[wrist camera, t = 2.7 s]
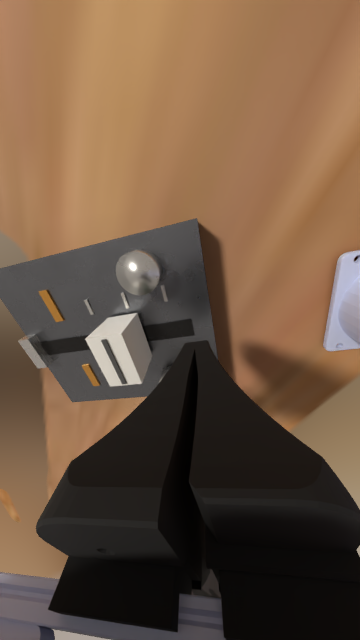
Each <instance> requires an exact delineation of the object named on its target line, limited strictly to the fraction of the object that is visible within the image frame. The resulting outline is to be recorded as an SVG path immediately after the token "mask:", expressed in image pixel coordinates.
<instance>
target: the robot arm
mask: <svg viewBox="0 0 360 640" xmlns="http://www.w3.org/2000/svg"><path fill="white" fill-rule="evenodd" d="M356 256H358V259H357V260H356V261H355V262H354V258H355V257H356ZM337 344H338V345H337ZM336 345H337V346H336ZM323 347H324V348H325V349H326V350H327V351H338V350H347V349H357V348H360V250H357V251H351V252H347V253H344V254H342V255H341V256H340V257H339V259H338V261H337V267H336V273H335V278H334V284H333V290H332V296H331V302H330V308H329V314H328V320H327V325H326V331H325V337H324V343H323ZM36 531H37V534H38V535H39V537H41V538H42V539H43V540H44V541H46V542H47V543H49V544H50V545H52V546H54V547H55V548H57V549H58V550H60V551H61V552H63V553H65V554H66V555H68V556H69V557H68V559H67V562H66V565H65V567H64V570H63V572H62V575H61V577H60V579H53V578H45V577H36V576H27V575H20V574H11V573H2V572H0V640H55V636H54V631H53V630H52V629H55V630H61V631H66V632H72V633H78V634H84V635H89V636H95V637H100V638H106V639H111V640H360V557H359V555H358V553H357V551H356V550H357V548H358V547H359V545H360V510H359V508H358V506H357V504H356V503H355V501H354V500H353V498H352V497H351V495H350V494H349V492H348V491H347V489H346V488H345V487H344V485H343V484H342V482H341V481H340V480H339V478H338V477H337V475H336V474H335V473H334V472H333V470H332V469H331V468H330V466H329V465H328V464H327V462H325V460H324V459H323V457H321V456H320V455H319V454H317V453H316V452H315V451H313V450H312V449H311V448H309V447H308V446H307V445H305V444H304V443H302V442H301V441H300V440H299V439H297V438H296V437H295V436H293V435H292V434H291V433H290V432H288V431H287V430H286V429H285V428H283V427H282V426H281V425H280V424H278V423H277V422H276V421H275V420H274V419H272V418H271V417H270V416H269V415H268V414H267V413H266V412H264V411H263V410H262V409H261V408H260V407H259V406H258V405H257V404H256V403H255V402H253V401H252V400H251V399H250V398H249V397H248V396H247V395H246V394H245V393H244V392H243V391H242V390H241V389H240V387H239V386H238V385H237V384H236V383H235V382H234V381H233V380H232V378H231V377H230V376H229V375H228V374H227V372H226V371H225V370H224V368H223V367H222V366H221V364H220V363H219V361H218V360H217V358H216V356H215V355H214V353H213V351H212V349H211V347H210V344H209V341H207V340H204V341H196V342H189V343H185V344H184V345H183V347H182V349H181V351H180V352H179V354H178V356H177V358H176V359H175V361H174V362H173V364H172V366H171V367H170V369H169V370H168V371H167V373H166V374H165V376H164V377H163V378H162V380H161V381H160V382H159V384H158V385H157V386H156V387H155V389H154V390H153V391H152V392H151V393H150V394H149V396H148V397H147V398H146V399H145V400H144V401H143V402H142V403H141V404H140V405H139V406H138V407H137V408H136V409H135V410H134V411H133V412H132V413H131V414H130V415H129V416H128V417H126V418H125V419H124V420H123V421H122V422H121V423H120V424H119V425H117V426H116V427H115V428H114V429H113V430H112V431H110V432H109V433H108V434H107V435H105V436H104V437H103V438H102V439H100V440H99V441H98V442H97V443H95V444H94V445H93V446H91V447H90V448H89V449H87V450H86V451H85V452H83V453H82V454H81V455H79V456H78V457H77V458H75V459H74V460H73V461H71V463H70V464H69V466H68V468H67V470H66V471H65V473H64V475H63V477H62V479H61V480H60V482H59V484H58V486H57V488H56V489H55V491H54V493H53V495H52V497H51V498H50V500H49V502H48V504H47V506H46V507H45V509H44V511H43V513H42V515H41V516H40V518H39V520H38V522H37V525H36ZM210 569H212V571H213V573H214V575H215V577H216V579H217V581H218V584H219V592H220V594H221V598H213V597H205V596H197V595H192V590H200V591H202V587H203V585H204V584H205V582H206V580H207V578H208V576H209V574H210Z"/></svg>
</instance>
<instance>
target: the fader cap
mask: <svg viewBox="0 0 360 640" xmlns="http://www.w3.org/2000/svg"><path fill="white" fill-rule="evenodd" d="M85 340H86V342H87V344H88V346H89V348H90V349H91V351H92V353H93V355H94V357H95V359H96V361H97V363H98V365H99V367H100V368H101V370H102V372H103V374H104V376H105V378H106V380H107V382H108V384H109V385H110V387H111V386H122V385H133V384H142V382H143V380H144V377H145V374H146V372H147V369H148V366H149V364H150V361H151V358H152V353H151V351H150V348H149V345H148V342H147V339H146V336H145V333H144V330H143V328H142V325H141V322H140V319H139V316H138V313H133V314H127V315H121V316H115V317H109V318H107V319H106V320H105V321H104V322H103V323H102V324H101V325H100V326H99V327H97V328H96V329H95V330H94V331H93V332H92V333H91V334H90V335H89V336H88V337H87V338H86V339H85Z"/></svg>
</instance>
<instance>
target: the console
mask: <svg viewBox="0 0 360 640" xmlns="http://www.w3.org/2000/svg"><path fill="white" fill-rule="evenodd" d="M0 298H1V300H2V301H3V303H4V304H5V306H6V307H7V309H8V310H9V311H10V313H11V314H12V316H13V317H14V319H15V320H16V321H17V323H18V324H19V326H20V327H21V329H22V330H23V332H24V333H25V334H26V336H25V337H24V338H22V339H20V340H19V341H18V342H19V343H20V344H21V346H22V347H23V349H24V350H25V351H26V353H27V354H28V355H29V357H30V358H31V359H32V361H33V362H34V364H35V365H36V366H37V368H45V367H48V368H49V369H50V371H51V372H52V373H53V375H54V376H55V378H56V379H57V381H58V382H59V384H60V385H61V386H62V388H63V389H64V391H65V392H66V394H67V395H68V397H69V398H70V399H71V401H72V402H81V401H94V400H106V399H119V398H132V397H145V396H149V394H150V393H151V392H152V391H153V390H154V389H155V387H156V386H157V385H158V384H159V382H160V381H161V380H162V378H163V377H164V376H165V374H166V373H167V371H168V370H169V369H170V367H171V366H172V364H173V362H174V361H175V359H176V358H177V356H178V354H179V352H180V351H181V349H182V347H183V345H184V344H185V343H189V342H196V341H204V340H207V341H209V344H210V347H211V349H212V351H213V353H214V355H215V356H216V358H217V360H218V356H217V349H216V343H215V336H214V329H213V323H212V316H211V309H210V302H209V296H208V289H207V282H206V276H205V269H204V262H203V255H202V249H201V242H200V235H199V229H198V222H197V218H196V219H192V220H188V221H184V222H180V223H177V224H173V225H169V226H165V227H161V228H157V229H153V230H149V231H145V232H141V233H137V234H133V235H129V236H126V237H122V238H118V239H114V240H110V241H106V242H102V243H98V244H94V245H90V246H86V247H82V248H79V249H75V250H71V251H67V252H63V253H59V254H55V255H51V256H47V257H43V258H39V259H35V260H32V261H28V262H24V263H20V264H16V265H12V266H8V267H4V268H1V269H0ZM133 313H138V316H139V319H140V322H141V325H142V328H143V330H144V333H145V336H146V339H147V342H148V345H149V348H150V351H151V353H152V358H151V361H150V364H149V366H148V369H147V372H146V374H145V377H144V380H143V382H142V384H133V385H122V386H111V387H110V385H109V384H108V382H107V380H106V378H105V376H104V374H103V372H102V370H101V368H100V367H99V365H98V363H97V361H96V359H95V357H94V355H93V353H92V351H91V349H90V348H89V346H88V344H87V342H86V340H85V339H86V338H87V337H88V336H89V335H90V334H91V333H92V332H93V331H94V330H95V329H96V328H97V327H99V326H100V325H101V324H102V323H103V322H104V321H105V320H106V319H107V318H109V317H115V316H121V315H127V314H133Z"/></svg>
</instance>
